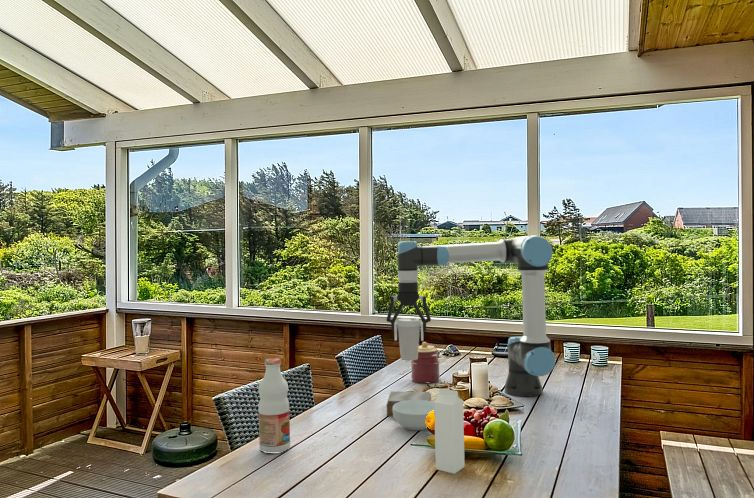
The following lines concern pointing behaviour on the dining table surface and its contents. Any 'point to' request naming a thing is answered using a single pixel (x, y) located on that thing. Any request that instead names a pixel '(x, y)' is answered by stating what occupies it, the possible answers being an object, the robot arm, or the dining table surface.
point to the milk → (449, 431)
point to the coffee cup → (409, 337)
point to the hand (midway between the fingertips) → (409, 340)
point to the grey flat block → (405, 398)
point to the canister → (426, 365)
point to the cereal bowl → (412, 413)
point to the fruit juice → (273, 409)
